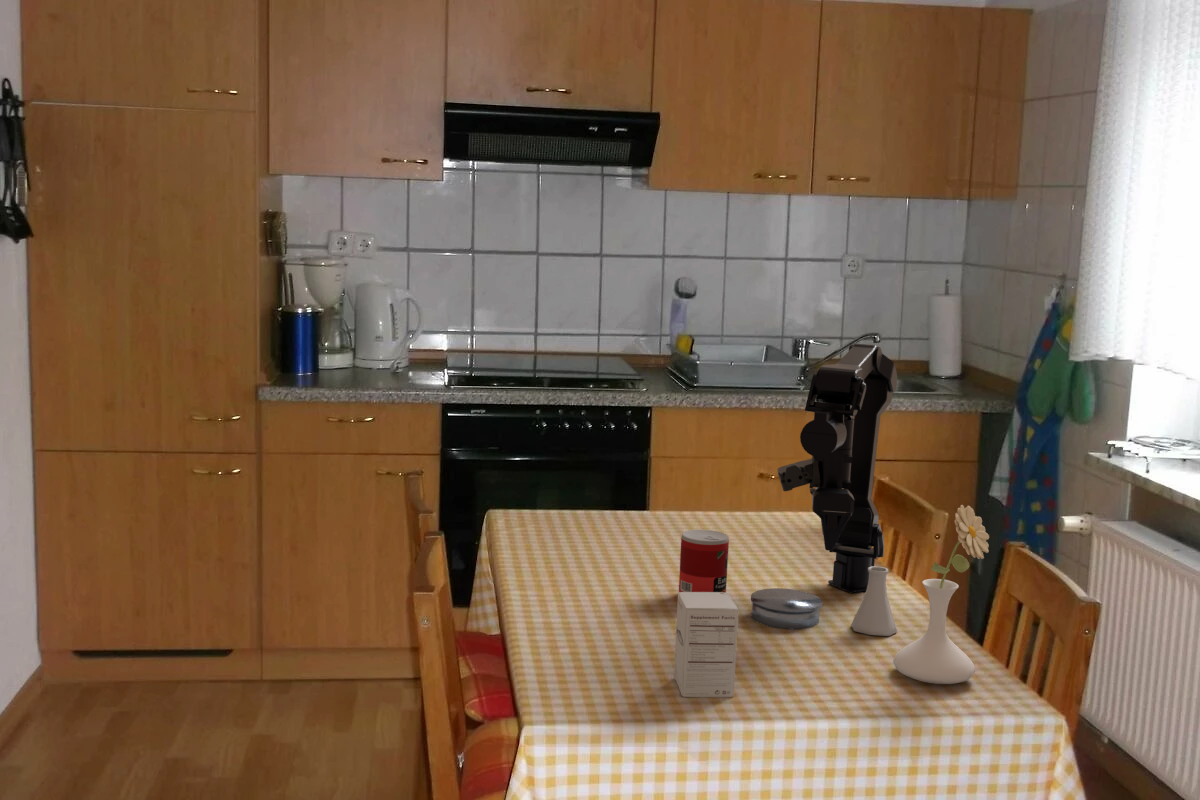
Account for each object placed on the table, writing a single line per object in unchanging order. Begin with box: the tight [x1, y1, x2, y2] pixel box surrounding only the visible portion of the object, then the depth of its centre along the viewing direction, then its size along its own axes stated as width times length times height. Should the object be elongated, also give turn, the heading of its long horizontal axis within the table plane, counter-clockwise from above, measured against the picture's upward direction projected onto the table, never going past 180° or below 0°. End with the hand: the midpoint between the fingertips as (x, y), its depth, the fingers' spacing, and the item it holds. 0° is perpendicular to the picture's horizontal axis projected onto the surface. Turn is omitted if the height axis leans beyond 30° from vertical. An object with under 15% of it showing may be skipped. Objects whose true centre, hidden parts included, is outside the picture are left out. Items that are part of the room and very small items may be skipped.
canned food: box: [678, 529, 730, 593], centre depth 218 cm, size 8×8×11 cm
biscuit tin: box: [750, 587, 823, 630], centre depth 210 cm, size 11×11×4 cm
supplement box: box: [673, 591, 739, 698], centre depth 177 cm, size 7×7×13 cm
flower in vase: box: [892, 504, 990, 685], centre depth 184 cm, size 13×11×25 cm
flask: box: [850, 565, 898, 637], centre depth 205 cm, size 7×7×10 cm
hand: (827, 542), depth 207 cm, fingers open, 9 cm apart
